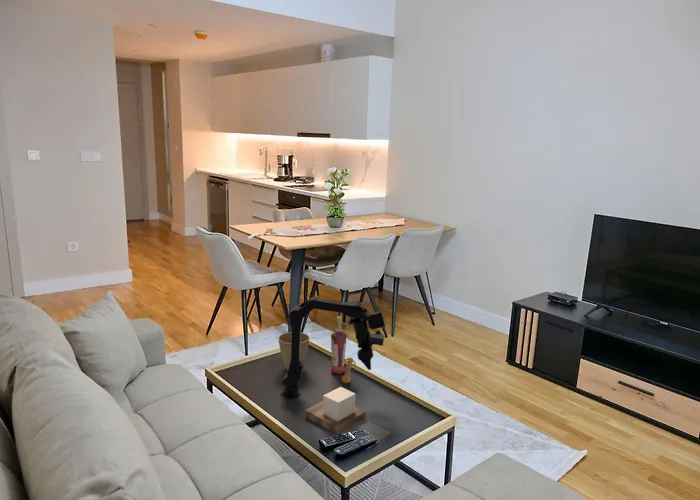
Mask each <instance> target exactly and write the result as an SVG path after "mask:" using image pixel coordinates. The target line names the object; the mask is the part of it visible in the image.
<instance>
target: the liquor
mask: <svg viewBox="0 0 700 500" xmlns="http://www.w3.org/2000/svg"><path fill="white" fill-rule="evenodd" d="M335 319H336V321H335V322H336V325H335V326H336V327H335V331H334V332H332V333H331V334H330V348H331V349H330V350H331V368H330V372H331V373H333V374H335V375H342V374H343V373H344V372H345V371H346V370H345V362H344V363H343V361H344V360H345V359H346V348H347V333H345V332H343V326H342V323H343V317H342V315H341V316H340V315H337V316H336V318H335ZM345 361H346V360H345ZM342 363H343V364H342Z"/></svg>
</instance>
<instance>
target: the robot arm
mask: <svg viewBox="0 0 700 500" xmlns="http://www.w3.org/2000/svg"><path fill="white" fill-rule="evenodd" d="M314 309H315V310H321V311H327V312H333V313H340V314H342V315H345V316H347V317H350V318H349V319H348V323H347V324H348V325H352V324H353V329H354V332H355V339H356V341H357V348H358V349H359V350H358V351H357V359H358V360H359V361H360V362H361V363H362V364H363V365H364V366H365V368H366V369H367V370H368V371H370V370H372V361H371V360H372V358H374V351H373V348H372V347H373V345H378V346H381V347H382V346H384V340H385V335H384V333H382V332H381V330H378V329H382V328H386V321H385V317H384V316H383V315H384V314H383V312H382V310H380V311H376V312H372V313H370V311H369V310H368V309H366V308H365V307H364V304H363V303H362V302H361V301H360V300H359V301H358V300H351V301H350V300H349V301H336V300H332V299H331V300H330V299H324V298H318V297H314V296H313V297H310V298H308V300H306V301H304V302H302V303H300V304H299V305H295V306H293V307H292V308H291V310H290V313H289V315H288V318H289V325H290V328H291V332H292V342H291V362H290V365H289V370H286V371H285V373H284V375H283V379H282V391H281V392H280V395H282V396H284V397H286V398H287V399H289V400H290V399H294V398H295V397H297V396H299V395H301V392H300V391H299V380H300V379H301V377H302V376H303V375H304V374H303V373H304V371H305V360H304V361H301V358H300V351H301V333H302V325H303V323H304V318H305V317H306V316H307V315H308V314H310V312H312V311H313V310H314ZM369 328H370V329H371V330H376V329H377V330H376V331H374V332H373V333H371V331H370V330H369Z"/></svg>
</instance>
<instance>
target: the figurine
mask: <svg viewBox="0 0 700 500" xmlns="http://www.w3.org/2000/svg"><path fill="white" fill-rule="evenodd" d="M346 361H347V364H346V366H345V367H344V369H345V371H346V372H345V373H344V375H343V376H342V377H341V381H342V383H343V384H349V383H350V382H351V381H352V380H351V376H350V374H351V369H352V363H353V364H354V371H356V370H357V363H356V361H355V360H354V358H353V357H348V358H345V360H344V361H343V363H344V364H345V363H346ZM343 363H342V364H343Z"/></svg>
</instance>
